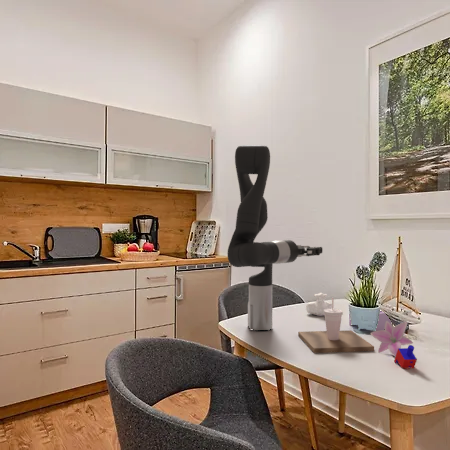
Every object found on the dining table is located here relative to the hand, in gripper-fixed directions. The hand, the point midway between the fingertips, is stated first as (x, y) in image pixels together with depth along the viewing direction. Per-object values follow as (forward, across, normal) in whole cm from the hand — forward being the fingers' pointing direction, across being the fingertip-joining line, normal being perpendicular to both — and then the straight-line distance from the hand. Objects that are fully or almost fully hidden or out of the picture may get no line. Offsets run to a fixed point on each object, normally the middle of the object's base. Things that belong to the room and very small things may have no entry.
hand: (311, 249), depth 136 cm
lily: (+9, -25, +32) cm, 42 cm away
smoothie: (+2, -8, +31) cm, 32 cm away
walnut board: (+2, -8, +32) cm, 33 cm away
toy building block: (0, -33, +32) cm, 46 cm away
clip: (+33, -7, +32) cm, 47 cm away
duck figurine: (+31, +19, +32) cm, 48 cm away
